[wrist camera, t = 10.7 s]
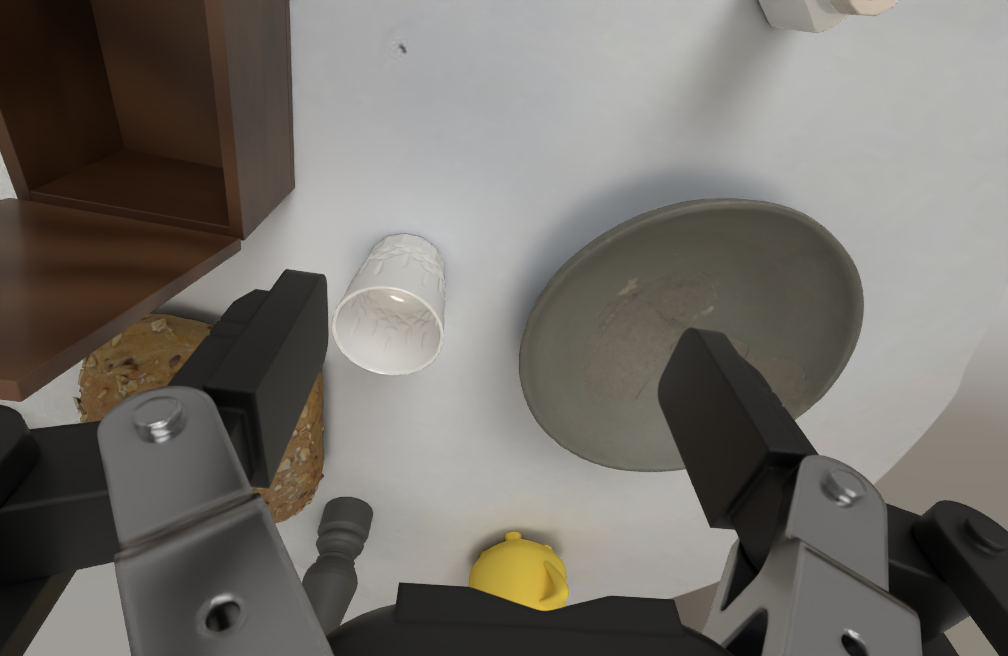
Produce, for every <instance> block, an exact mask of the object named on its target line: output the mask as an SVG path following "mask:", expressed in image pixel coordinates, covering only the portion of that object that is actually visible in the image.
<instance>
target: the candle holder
mask: <svg viewBox="0 0 1008 656" xmlns="http://www.w3.org/2000/svg"><path fill="white" fill-rule="evenodd" d="M372 516H373V512H372V508H371V507H370V506H369V505H368V504H367V503H365V502H364V501H362V500H360V499H356V498H351V497H340V498H336V499H332V500H331V501H330V502H328V503H327V504H326V507H325V509H324V513H323V516H322V519H321V522H320V525H319V529H318V535H319V537H318V540H317V542H316V546H317V549H318V551H319V554H320V555H319V556H318V558H317V560H316V562H315V563H314V564H312V565H311V567H310V568H309V569H308V570H307V572H306V574H305V576H304V578H303V581H302V585H303V587H304V590H305V592H306V594H307V596H308V599H309V601H310V603H311V605H312V607H313V610H314V612H315V614H316V616H317V619H318V621H319V623H320V625H321V628H322V630H323V632H324V634H325V635H327V634H329V633H330V632H332V631H333V630H335V629H336V628H338V627H339V626H340V624H341V622H342V619H343V617H344V615H345V613H346V611H347V608H348V606H349V604H350V602H351V600H352V597H353V595H354V593H355V591H356V589H357V584H358V581H357V575H356V572H355V568H354V565H355V563H354V559H356V557H357V556H358V555H360V554H361V552H362V550H363V548H364V543H365V542H366V540H367V538H368V535H369V530H370V525H371V521H372Z"/></svg>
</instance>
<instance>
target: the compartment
mask: <svg viewBox="0 0 1008 656" xmlns="http://www.w3.org/2000/svg"><path fill="white" fill-rule="evenodd" d="M0 152H1V155H2V157H3V160H4V163H5V165H6V168H7V171H8V174H9V176H10V179H11V182H12V184H13V187H14V190H15V192H16V195H17V198H18V199H21V200H26V201H32V202H38V203H43V204H49V205H55V206H60V207H66V208H72V209H77V210H83V211H89V212H94V213H100V214H106V215H111V216H117V217H122V218H128V219H134V220H139V221H145V222H151V223H156V224H162V225H168V226H173V227H179V228H185V229H190V230H196V231H202V232H207V233H213V234H219V235H224V236H230V237H236V238H240V239H241V240H243V241H244V240H245V239H246V238H247V237H248V236H249V235H250V234H251V233H252V232H253V231H254V230H255V229H256V228H257V227H258V226H259V225H260V224H261V223H262V221H263V220H264V219H265V218H266V217H267V216H268V215H269V214H270V213H271V212H272V211H273V210H274V209H275V208H276V207H277V206H278V205H279V204H280V203H281V202H282V201H283V200H284V199H285V197H286V196H287V195H288V194H289V193H290V192H291V191H292V190H293V189H294V188H295V180H294V147H293V113H292V79H291V45H290V11H289V0H0Z"/></svg>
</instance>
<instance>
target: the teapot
mask: <svg viewBox="0 0 1008 656" xmlns="http://www.w3.org/2000/svg"><path fill="white" fill-rule="evenodd" d="M469 587H472V588H475V589H478V590H481V591H484V592H487V593H490V594H493V595H496V596H499V597H501V598H504V599H507V600H510V601H513V602H516V603H519V604H522V605H525V606H528V607H531V608H534V609H537V610H542V611H548V610H553V609H558V608H562V607H566V604H565V600H567V598H568V596H569V588H568V584H567V582H566V569H565V566H564V563H563V562H562V560H561V559H560V558H559V557H558V556H557V554H555V552H553V551H552V548H551V547H550V546H548V545H541V544H538V543H536V542H532V541H529V540H524V539H521V534H520V533H518V532H509V533H507V534H506V535H505V542H502V543H499V544H497V545H495V546H493V547H491V548H489V549H488V550H485V551H482V552H481V553H480V558H479V559H478V560H477V561H476V563H475V564H474V566H473V568H472V569H471V572H470V575H469Z"/></svg>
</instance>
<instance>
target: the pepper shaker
mask: <svg viewBox="0 0 1008 656" xmlns="http://www.w3.org/2000/svg"><path fill="white" fill-rule="evenodd" d="M898 1H899V0H759V2H760V5H761V7H762V9H763V11H764V13H765V16H766V18H767V20H768V22H769V24H770V25H772V26H773V27H776V28H783V29H790V30H797V31H804V32H812V33H820V32H824V31H827V30H829V29H831V28H832V27H833V26H835V25H836V24H838V23H839V22H841V21H842V20H844V19H845V18H846V17H848V16H849V15H866V16H876V15H878V14H880V13H882V12H884V11H886V10H888V9H890V8H892V7H893V6H894V5H895V4H896V3H897V2H898Z"/></svg>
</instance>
